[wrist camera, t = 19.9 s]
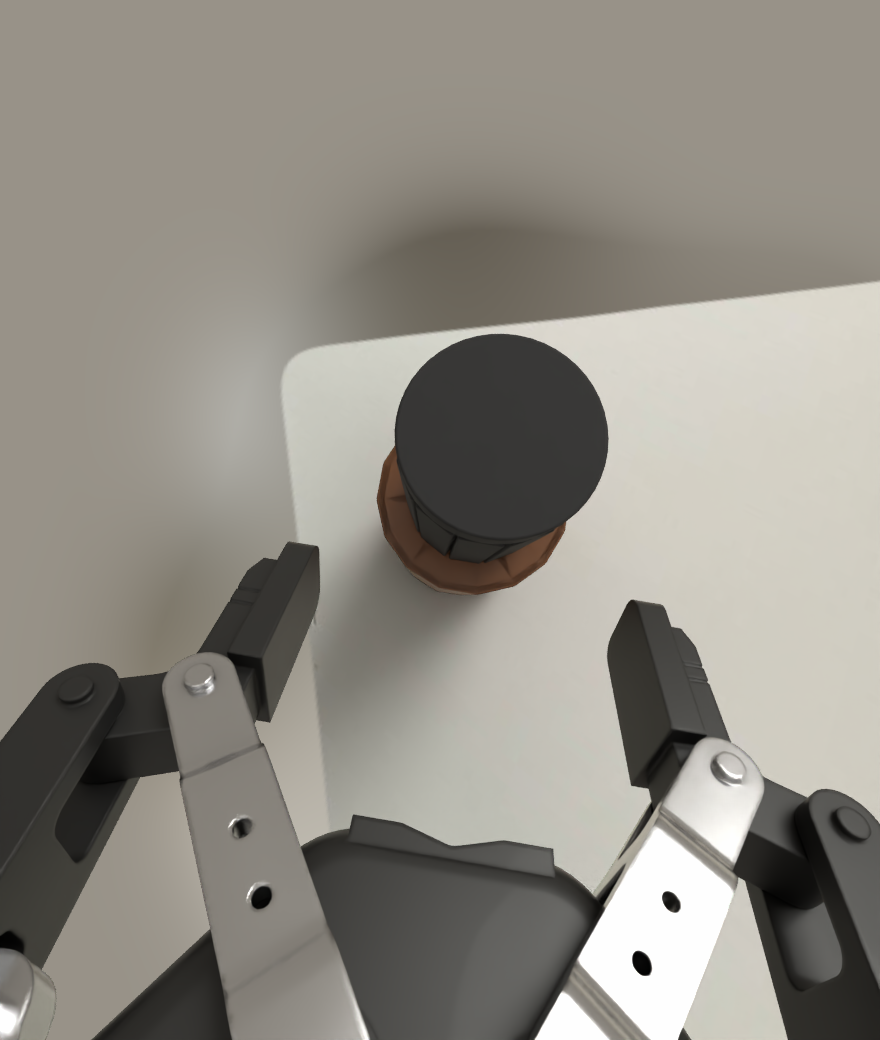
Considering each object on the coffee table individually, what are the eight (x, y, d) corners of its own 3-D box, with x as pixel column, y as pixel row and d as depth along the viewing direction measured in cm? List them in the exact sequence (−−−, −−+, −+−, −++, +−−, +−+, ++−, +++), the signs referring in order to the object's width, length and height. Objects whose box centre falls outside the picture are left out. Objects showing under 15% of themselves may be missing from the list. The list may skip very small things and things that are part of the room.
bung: (530, 572, 20) (594, 558, 12) (398, 550, 20) (375, 520, 12) (549, 444, 21) (621, 351, 13) (421, 422, 21) (414, 316, 13)
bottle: (508, 603, 32) (607, 613, 14) (387, 582, 32) (332, 565, 14) (526, 485, 33) (638, 354, 15) (409, 465, 33) (383, 311, 15)
